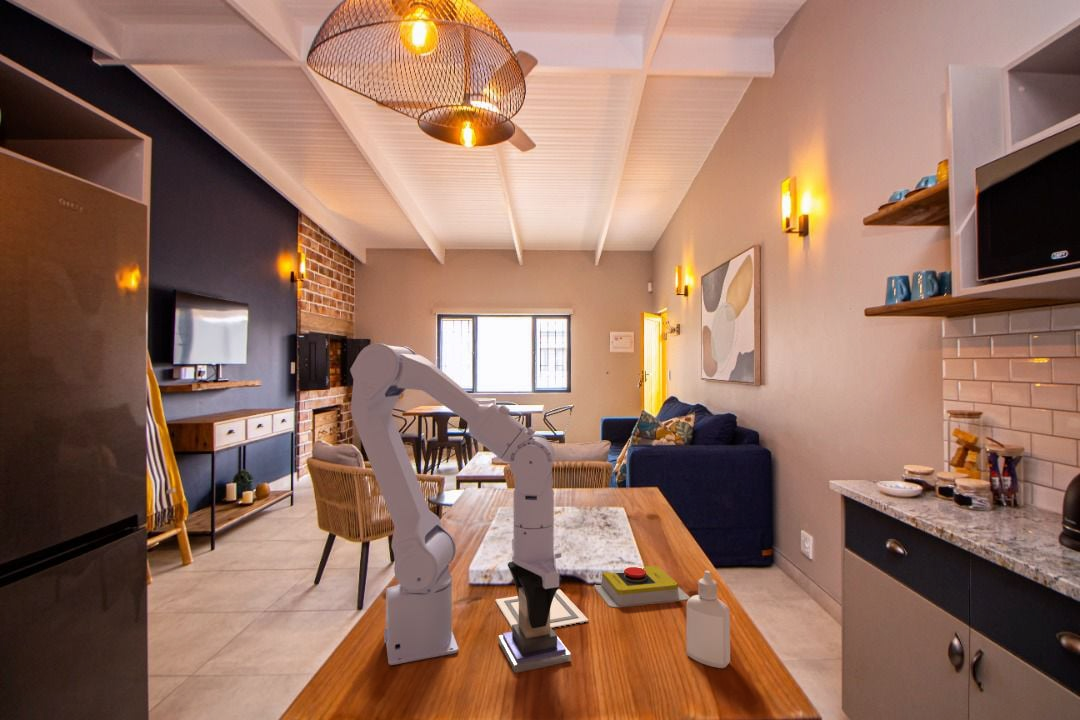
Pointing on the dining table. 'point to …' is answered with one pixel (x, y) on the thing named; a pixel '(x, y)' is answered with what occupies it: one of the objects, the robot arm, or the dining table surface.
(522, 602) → the stamp
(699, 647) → the eye dropper bottle
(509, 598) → the marked card
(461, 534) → the dining table surface
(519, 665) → the ink pad
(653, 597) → the emergency button
